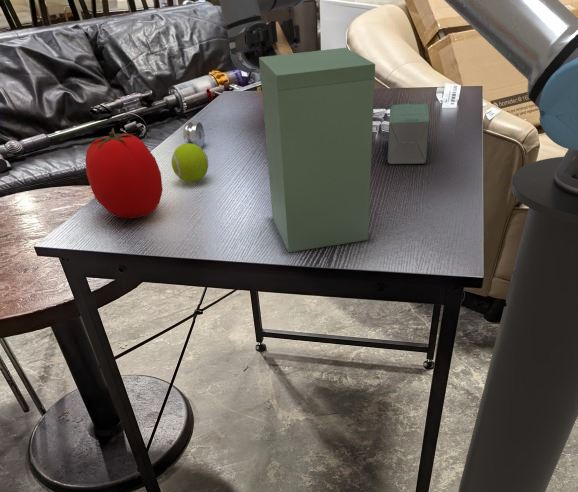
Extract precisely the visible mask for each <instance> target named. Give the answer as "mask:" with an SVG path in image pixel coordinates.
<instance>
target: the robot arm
mask: <svg viewBox="0 0 578 492" xmlns="http://www.w3.org/2000/svg"><path fill="white" fill-rule="evenodd" d="M305 1H306V0H218V2H219V6H220V9H221V12H222V16H223V20H224V23H225V29H226V34H227V37H228V44H229V49H230V50H229V54H230V55H229V56H230V58H231V62H232V63H233V65H234V67H236V68H237V69H238V70H239V71H241V72H243V73H246V74H248V73H249V74H252V73H257V74H260V63H259V57H267V56H276V55H277V54H276V52H275V50H274V48H273V46H272V45H273V44H274V43H276V42H278V40H277V30H276V22H277V21H276V20H271V21H269V22H270V23H269V22H268V21H264V20H263V19H262V15H261V13H266V12H267V13H268V12H271V11H275V10H276V11H277V10H281V9H282V10H283V9H292V8H293V7H296V6H299V5H301V4H303V3H304V2H305ZM443 1H444V2H445V3H446V4H447V5H448V6H449V7H450V8H452V10H454V11H455V12H456V13H457V14H458V15H459V16H460V17H461V18H462V19H463V20H464V21H465V22H466V23H467V24H468V25H469V26H470V27H472V29H474V30H475V31H476V32H477V33H478V34H479V35H480V36H481V37H482V38H483V39H484V40H485V41H486V42H487V43H489V44H490V45H491V46H492V48H494V49H495V50H496V51H497V52H498V53H499V54H500V55H501V56H502V57H503V58H504V59H505V60H506V61H507V62H508V63H509V64H511V66H513V67H514V68H515V69H516V70H517V71H518V72H519V73H520V74H521V75H522V76H523V77H524V78H525V79H526V80H527V91H526V92H527V93H526V96H527V98H528V99H529V100H530V101H531V103H532V104H534V105H535V107H537V108H538V112H539V118H538V119H539V123H540V126H541V128H542V130H543V132H544V134H545V135H546V136H547V138H548V139H550V140H551V142H553V143H554V144H556V145H557V146H560V147H561V148H564V149H566V150H567V151H566V152H565V154H564V155H563V156H562V157H563V159H562V160H561V162H560V164H559V165H558V167H557V170H556V172H555V176H554V179H553V182H554V184H555V186H556V187H557V188H559V189H560V190H562V191H563V192H565V193H568V194H570V195H573V196H576V197H578V17H577V15H575V14H574V12H572V11H571V10H570V9H568V8H567V7H566V6H565V5H564V4H563V3H562V1H560V0H443ZM266 23H268V24H267V25H266ZM279 25H280V27H281V29H282V31H283V33H284V35H285V37H286V39H287V41H288V43H289V45H290V47H291V48H295V49H297V48H298V47H300V43H301V42H302V41H301V39H302V38H301V28H300V24H294V20H293V18H291V19H287V20H286V19H285V20H282V23H281V24H279Z"/></svg>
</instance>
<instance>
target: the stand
mask: <svg viewBox="0 0 578 492" xmlns="http://www.w3.org/2000/svg"><path fill="white" fill-rule="evenodd" d="M259 63H260V73H259V74H260V85H261V87H260V88H261V99H262V108H263V109H262V110H263V121H264V135H265V144H266V145H265V146H266V156H267V168H268V180H269V192H270V203H271V215H272V221H273V223H274V225H275V227H276V229H277V231H278V233H279V236H280V237H281V240H282V242H283V244H284V246H285V248H286V250H287V252H288V253H294V252H301V251H307V250H314V249H319V248H326V247H332V246H333V247H334V246H338V245H344V244H345V245H346V244H351V243H358V242H363V241H368V240H369V225H370V223H369V221H370V202H371V201H370V200H371V199H370V197H371V179H372V178H371V177H372V175H371V174H372V153H373V152H372V149H373V129H374V127H373V126H374V102H375V101H374V100H375V79H376V63H375V62H373V61H371V60H370V59H367V58H365V57H364V56H362V55H360V54H358V53H357V52H355V51H353V50H351V49H349V48H347V47H340V48H339V47H338V48H330V49H322V50H321V49H319V50H313V51H303V52H295V53H294V52H293V54H284V55H276V56H267V57H259Z"/></svg>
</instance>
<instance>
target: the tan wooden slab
mask: <svg viewBox="0 0 578 492" xmlns="http://www.w3.org/2000/svg"><path fill="white" fill-rule="evenodd" d="M270 22H271V21H269V22H267V23H266V25H267V24H268V23H270ZM280 25H281V24H280V23H279V21H276V30H277V40H278V42H276V43H274V44H273V45H272V46H273V48H274V50H275V52H276V54H277V55H284V54H293V53H294V52H293V50H292V47H290V45H289V43H288V41H287V39H286V37H285V35H284V33H283V31H282V29H281V27H280Z"/></svg>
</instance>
